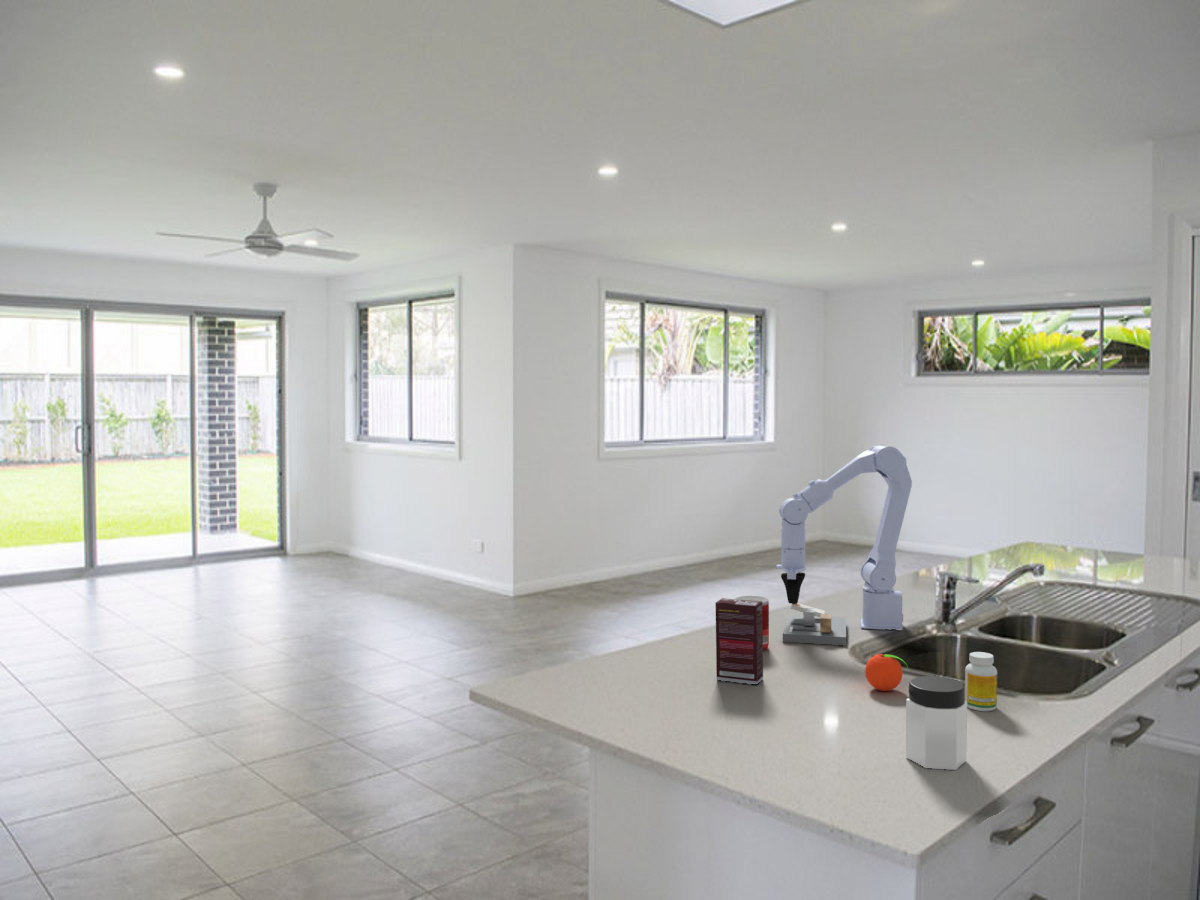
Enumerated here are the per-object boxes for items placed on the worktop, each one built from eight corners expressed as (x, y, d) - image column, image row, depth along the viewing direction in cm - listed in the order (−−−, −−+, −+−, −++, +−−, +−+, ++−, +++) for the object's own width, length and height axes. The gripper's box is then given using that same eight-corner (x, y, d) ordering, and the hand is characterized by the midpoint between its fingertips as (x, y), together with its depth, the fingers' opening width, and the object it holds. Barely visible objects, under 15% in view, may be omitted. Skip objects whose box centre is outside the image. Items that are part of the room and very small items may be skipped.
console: (846, 625, 224) (846, 612, 224) (846, 645, 206) (846, 631, 206) (787, 622, 228) (787, 609, 228) (782, 642, 210) (782, 628, 209)
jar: (920, 744, 148) (921, 671, 147) (972, 757, 143) (973, 681, 142) (898, 762, 141) (899, 685, 140) (952, 775, 136) (953, 696, 135)
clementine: (907, 686, 177) (907, 650, 177) (909, 697, 171) (909, 660, 170) (864, 683, 180) (864, 647, 179) (864, 694, 173) (865, 657, 172)
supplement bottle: (959, 702, 168) (960, 650, 167) (989, 701, 168) (989, 650, 167) (971, 712, 162) (972, 659, 162) (1002, 711, 162) (1002, 658, 162)
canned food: (767, 643, 209) (767, 595, 208) (770, 653, 201) (770, 603, 201) (733, 642, 210) (733, 595, 209) (735, 652, 202) (735, 603, 201)
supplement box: (763, 679, 183) (763, 600, 182) (757, 686, 178) (757, 605, 177) (722, 674, 186) (721, 597, 185) (715, 681, 182) (714, 602, 181)
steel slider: (814, 621, 219) (814, 608, 219) (813, 625, 215) (813, 612, 215) (804, 620, 220) (804, 607, 219) (803, 625, 215) (803, 611, 215)
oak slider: (831, 627, 213) (831, 614, 212) (831, 632, 208) (831, 618, 208) (820, 627, 213) (820, 613, 213) (820, 632, 209) (820, 618, 209)
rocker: (823, 614, 224) (825, 610, 224) (823, 618, 220) (824, 614, 220) (791, 605, 226) (792, 601, 226) (790, 608, 222) (791, 604, 222)
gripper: (778, 542, 231) (778, 595, 232) (774, 552, 217) (774, 608, 218) (807, 543, 229) (807, 597, 230) (804, 553, 215) (804, 610, 216)
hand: (793, 603), depth 224 cm, fingers closed
